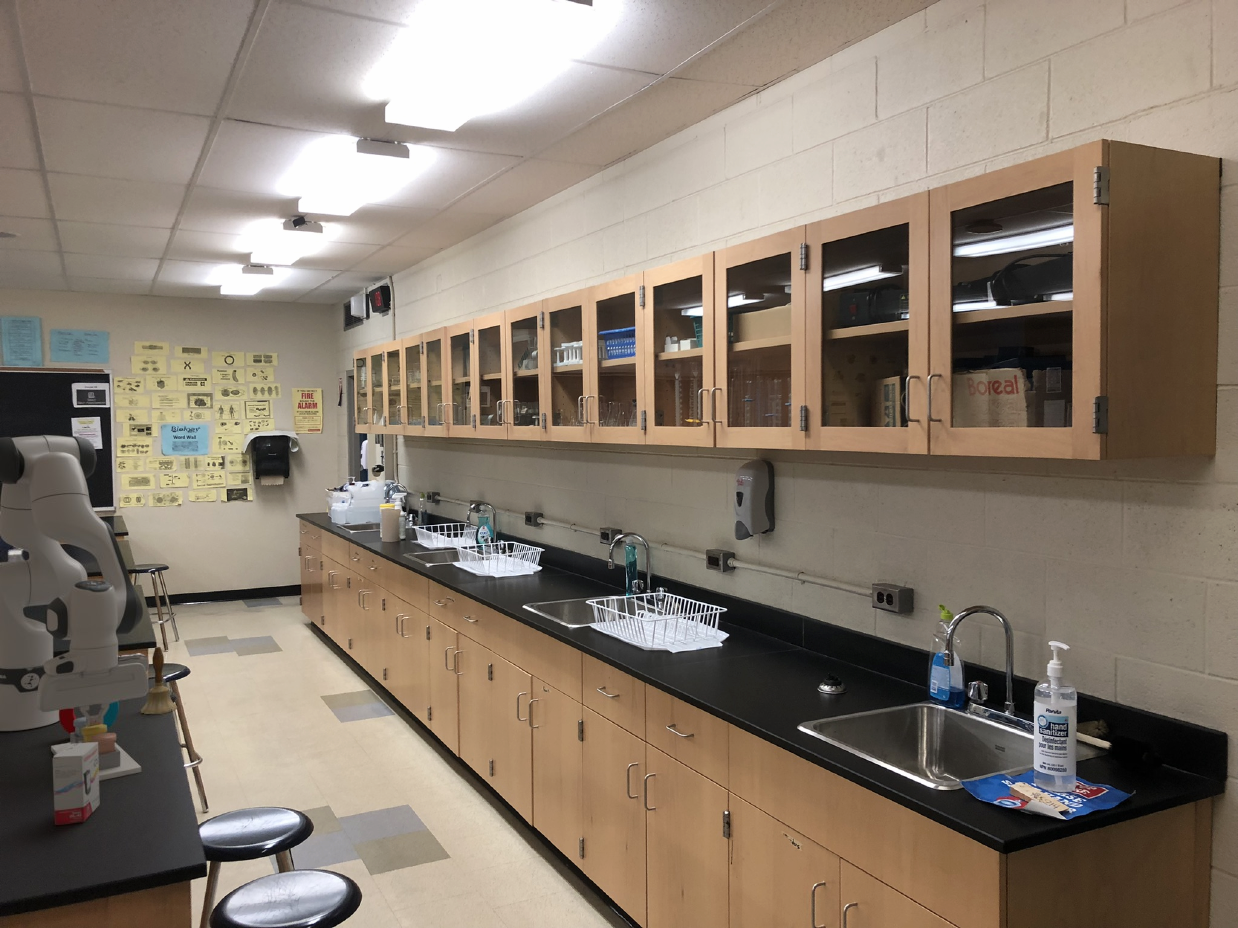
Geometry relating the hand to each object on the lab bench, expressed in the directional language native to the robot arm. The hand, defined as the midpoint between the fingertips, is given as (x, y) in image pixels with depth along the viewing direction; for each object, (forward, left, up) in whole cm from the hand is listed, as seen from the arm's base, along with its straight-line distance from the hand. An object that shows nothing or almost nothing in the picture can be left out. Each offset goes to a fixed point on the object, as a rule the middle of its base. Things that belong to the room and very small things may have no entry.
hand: (94, 724), depth 189 cm
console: (0, 0, -8) cm, 8 cm away
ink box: (+31, -9, -8) cm, 33 cm away
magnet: (-20, +3, -8) cm, 22 cm away
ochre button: (0, 0, -5) cm, 5 cm away
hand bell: (-33, +21, -8) cm, 40 cm away
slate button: (-8, 0, -5) cm, 10 cm away
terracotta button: (+8, 0, -5) cm, 9 cm away
